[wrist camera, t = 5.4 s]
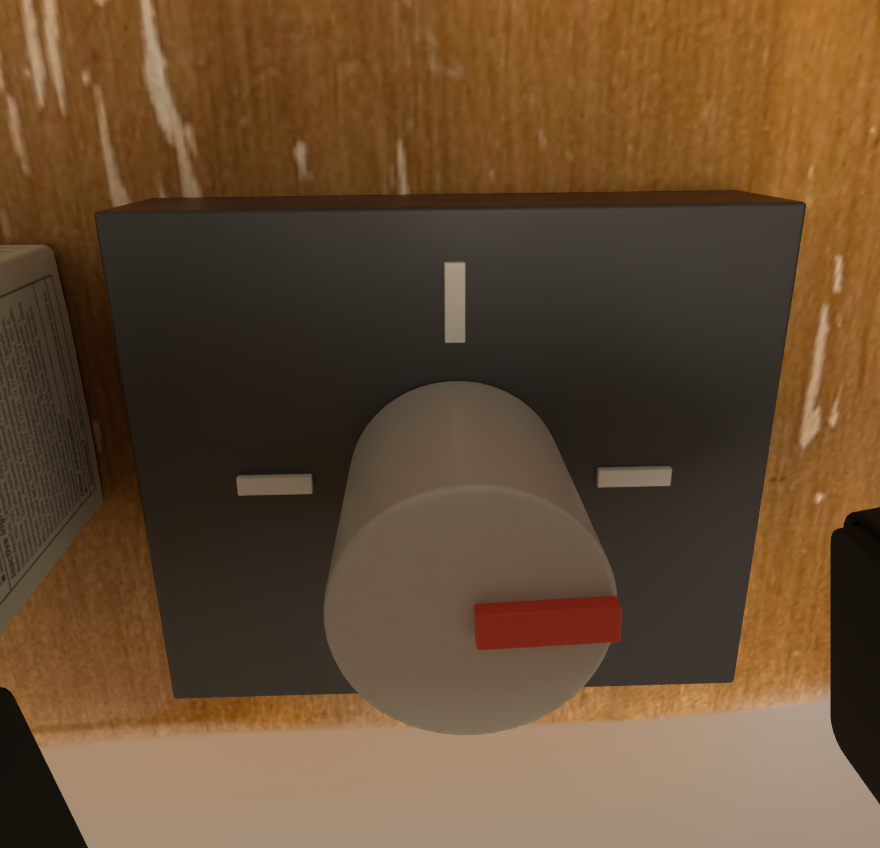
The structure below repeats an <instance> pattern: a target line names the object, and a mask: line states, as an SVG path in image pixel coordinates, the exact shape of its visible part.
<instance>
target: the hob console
mask: <svg viewBox="0 0 880 848" xmlns="http://www.w3.org/2000/svg"><path fill="white" fill-rule="evenodd" d="M805 209H806V204H805V203H804V202H801V201H795V200H789V199H783V198H777V197H772V196H766V195H760V194H754V193H749V192H743V191H737V190H728V191H653V192H579V193H504V194H430V195H355V196H281V197H206V198H152V199H148V200H144V201H140V202H135V203H131V204H127V205H123V206H119V207H115V208H111V209H106V210H102V211H98V212H96V213H95V216H94V217H95V223H96V229H97V235H98V241H99V247H100V253H101V259H102V265H103V271H104V277H105V283H106V289H107V295H108V301H109V307H110V314H111V320H112V326H113V332H114V338H115V344H116V350H117V356H118V362H119V368H120V374H121V380H122V386H123V392H124V398H125V404H126V410H127V416H128V422H129V428H130V435H131V441H132V447H133V453H134V459H135V465H136V471H137V477H138V483H139V489H140V495H141V501H142V507H143V513H144V519H145V525H146V531H147V537H148V543H149V549H150V556H151V562H152V568H153V574H154V580H155V586H156V592H157V598H158V604H159V610H160V616H161V622H162V628H163V634H164V640H165V646H166V652H167V658H168V664H169V670H170V677H171V683H172V689H173V695H174V698H177V699H178V698H212V697H247V696H282V695H316V694H351V693H358V692H357V691H356V690H355V689H354V688H353V687H352V686H351V685H350V683H349V682H348V681H347V679H346V678H345V677H344V675H343V674H342V672H341V671H340V669H339V667H338V665H337V663H336V661H335V659H334V658H333V656H332V653H331V650H330V647H329V645H328V642H327V637H326V632H325V627H324V613H323V607H324V598H325V590H326V585H327V580H328V575H329V570H330V565H331V560H332V555H333V550H334V545H335V540H336V535H337V530H338V525H339V520H340V515H341V510H342V505H343V500H344V495H345V490H346V485H347V480H348V475H349V469H350V464H351V460H352V457H353V453H354V450H355V447H356V445H357V442H358V440H359V438H360V436H361V435H362V433H363V431H364V430H365V428H366V426H367V425H368V424H369V423H370V421H371V420H372V419H373V418H374V416H375V415H377V414H378V413H379V412H380V411H381V410H382V409H383V408H384V407H385V406H386V405H388V404H389V403H391V402H392V401H393V400H395V399H396V398H398V397H400V396H402V395H403V394H405V393H407V392H409V391H412V390H414V389H417V388H419V387H422V386H426V385H430V384H434V383H439V382H447V381H468V382H476V383H482V384H485V385H489V386H493V387H496V388H498V389H500V390H503V391H505V392H508V393H509V394H511V395H513V396H515V397H516V398H518V399H520V400H521V401H522V402H524V403H525V404H526V405H527V406H529V407H530V408H531V409H532V410H533V411H534V412H535V413H536V414H537V415H538V416H539V417H540V419H541V420H542V421H543V423H544V424H545V425H546V427H547V428H548V430H549V432H550V434H551V435H552V437H553V439H554V441H555V444H556V446H557V448H558V450H559V452H560V455H561V457H562V459H563V461H564V463H565V466H566V468H567V470H568V472H569V474H570V477H571V479H572V481H573V483H574V486H575V488H576V490H577V492H578V494H579V497H580V499H581V501H582V503H583V505H584V508H585V510H586V512H587V514H588V516H589V519H590V521H591V523H592V525H593V528H594V530H595V532H596V534H597V536H598V539H599V541H600V543H601V545H602V547H603V550H604V552H605V554H606V556H607V558H608V561H609V564H610V566H611V569H612V572H613V575H614V579H615V584H616V590H617V598H618V601H619V603H620V605H621V607H622V617H621V639H620V642H614V643H610V645H609V647H608V650H607V652H606V654H605V657H604V659H603V660H602V662H601V664H600V665H599V667H598V668H597V670H596V672H595V673H594V674H593V675H592V677H591V678H590V679H589V680H588V682H587V683H586V684H585V685H584V686H583V687H594V686H629V685H663V684H698V683H731V682H733V680H734V674H735V668H736V661H737V654H738V648H739V641H740V635H741V628H742V622H743V615H744V609H745V602H746V596H747V589H748V582H749V576H750V569H751V563H752V556H753V550H754V543H755V537H756V530H757V524H758V517H759V510H760V504H761V497H762V491H763V484H764V478H765V471H766V465H767V458H768V452H769V445H770V438H771V432H772V425H773V419H774V412H775V406H776V399H777V393H778V386H779V379H780V373H781V366H782V360H783V353H784V347H785V340H786V334H787V327H788V321H789V314H790V307H791V301H792V294H793V288H794V281H795V275H796V268H797V262H798V255H799V249H800V242H801V235H802V229H803V222H804V216H805Z"/></svg>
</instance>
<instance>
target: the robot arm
mask: <svg viewBox="0 0 880 848" xmlns="http://www.w3.org/2000/svg"><path fill="white" fill-rule="evenodd" d="M831 724H832V728H833V732H834V735H835V738H836V740H837V742H838V744H839V747H840V748H841V750H842V752H843V753H844V755H845V756H846V757H847V759H848V760H849V762H850V763H851V765H852V766H853V767H854V769H855V770H856V772H857V773H858V774H859V776H860V777H861V779H862V780H863V781H864V783H865V784H866V786H867V787H868V788H869V790H870V791H871V793H872V794H873V795H874V797H875V798H876V800H877V801H878V802H879V804H880V507H879V508H873V509H868V510H863V511H857V512H852V513H850V514H849V515H848V516H847V517H846V519H845V522H844V527H843V528H839V529H836V530H835V531H833V534H832V536H831ZM0 848H88V847H87V845H86V843H85V841H84V839H83V837H82V835H81V833H80V831H79V828H78V826H77V825H76V822H75V820H74V818H73V817H72V814H71V812H70V810H69V808H68V806H67V804H66V802H65V800H64V798H63V796H62V794H61V792H60V790H59V788H58V786H57V784H56V782H55V780H54V778H53V775H52V773H51V771H50V769H49V767H48V765H47V763H46V761H45V759H44V757H43V755H42V753H41V751H40V749H39V747H38V745H37V743H36V741H35V739H34V737H33V735H32V732H31V730H30V728H29V726H28V724H27V722H26V720H25V718H24V716H23V714H22V712H21V710H20V708H19V706H18V704H17V702H16V700H15V698H14V696H13V695H12V693H11V692H10V691H9V690H8V689H6V688H2V687H0Z"/></svg>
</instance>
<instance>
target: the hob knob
mask: <svg viewBox="0 0 880 848" xmlns="http://www.w3.org/2000/svg"><path fill="white" fill-rule="evenodd" d="M323 613H324V627H325V632H326V637H327V642H328V645H329V647H330V650H331V653H332V656H333V658H334V659H335V661H336V663H337V665H338V667H339V669H340V671H341V672H342V674H343V675H344V677H345V678H346V679H347V681H348V682H349V683H350V685H351V686H352V687H353V688H354V689H355V690H356V691H357V692H358V693H359V694H360V695H361V696H362V697H363V698H364V699H365V700H366V701H368V702H369V703H370V704H371V705H373V706H374V707H375V708H377V709H378V710H380V711H382V712H383V713H385V714H387V715H388V716H390V717H392V718H394V719H396V720H398V721H401V722H403V723H405V724H407V725H411V726H414V727H417V728H420V729H423V730H428V731H433V732H437V733H444V734H455V735H477V734H486V733H495V732H499V731H504V730H508V729H512V728H515V727H518V726H521V725H524V724H527V723H530V722H532V721H534V720H536V719H539V718H541V717H543V716H545V715H547V714H548V713H550V712H552V711H553V710H555V709H557V708H558V707H560V706H561V705H563V704H564V703H565V702H566V701H568V700H569V699H570V698H572V697H573V696H574V695H575V694H576V693H577V692H578V691H579V690H580V689H581V688H582V687H583V686H584V685H585V684H586V683H587V682H588V680H589V679H590V678H591V677H592V675H593V674H594V673H595V672H596V670H597V668H598V667H599V665H600V664H601V662H602V660H603V659H604V657H605V654H606V652H607V650H608V647H609V645H610V643H614V642H620V639H621V617H622V607H621V605H620V603H619V601H618V598H617V590H616V584H615V579H614V575H613V572H612V569H611V566H610V564H609V561H608V558H607V556H606V554H605V552H604V550H603V547H602V545H601V543H600V541H599V539H598V536H597V534H596V532H595V530H594V528H593V525H592V523H591V521H590V519H589V516H588V514H587V512H586V510H585V508H584V505H583V503H582V501H581V499H580V497H579V494H578V492H577V490H576V488H575V486H574V483H573V481H572V479H571V477H570V474H569V472H568V470H567V468H566V466H565V463H564V461H563V459H562V457H561V455H560V452H559V450H558V448H557V446H556V444H555V441H554V439H553V437H552V435H551V434H550V432H549V430H548V428H547V427H546V425H545V424H544V423H543V421H542V420H541V419H540V417H539V416H538V415H537V414H536V413H535V412H534V411H533V410H532V409H531V408H530V407H529V406H527V405H526V404H525V403H524V402H522V401H521V400H520V399H518V398H516V397H515V396H513V395H511V394H509V393H508V392H505V391H503V390H500V389H498V388H496V387H493V386H489V385H485V384H482V383H476V382H468V381H447V382H439V383H434V384H430V385H426V386H422V387H419V388H417V389H414V390H412V391H409V392H407V393H405V394H403V395H402V396H400V397H398V398H396V399H395V400H393V401H392V402H391V403H389V404H388V405H386V406H385V407H384V408H383V409H382V410H381V411H380V412H379V413H378V414H377V415H375V416H374V418H373V419H372V420H371V421H370V423H369V424H368V425H367V426H366V428H365V430H364V431H363V433H362V435H361V436H360V438H359V440H358V442H357V445H356V447H355V450H354V453H353V457H352V460H351V464H350V469H349V475H348V480H347V485H346V490H345V495H344V500H343V505H342V510H341V515H340V520H339V525H338V530H337V535H336V540H335V545H334V550H333V555H332V560H331V565H330V570H329V575H328V580H327V585H326V590H325V598H324V607H323Z"/></svg>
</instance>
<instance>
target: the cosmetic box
mask: <svg viewBox="0 0 880 848" xmlns="http://www.w3.org/2000/svg"><path fill="white" fill-rule="evenodd" d="M102 502H103V494H102V488H101V482H100V476H99V471H98V467H97V459H96V453H95V447H94V442H93V437H92V432H91V427H90V421H89V415H88V411H87V406H86V402H85V397H84V391H83V386H82V381H81V376H80V371H79V366H78V361H77V356H76V351H75V345H74V341H73V336H72V331H71V326H70V321H69V316H68V311H67V307H66V303H65V299H64V295H63V291H62V286H61V282H60V278H59V273H58V269H57V265H56V260H55V257H54V253H53V251H52V249H51V248H50V247H49V246H46V245H0V635H1V633H2V632H3V631H4V630H5V628H6V627H7V626H8V625H9V623H10V622H11V621H12V619H13V618H14V617H15V616H16V614H17V613H18V612H19V611H20V609H21V608H22V607H23V605H24V604H25V603H26V601H27V600H28V599H29V597H30V596H31V595H32V594H33V592H34V591H35V590H36V589H37V587H38V586H39V585H40V583H41V582H42V581H43V580H44V578H45V577H46V576H47V574H48V573H49V572H50V571H51V569H52V568H53V567H54V565H55V564H56V563H57V561H58V560H59V559H60V558H61V556H62V555H63V554H64V552H65V551H66V550H67V549H68V547H69V546H70V545H71V543H72V542H73V541H74V539H75V538H76V537H77V536H78V534H79V533H80V532H81V530H82V529H83V528H84V526H85V525H86V524H87V523H88V521H89V520H90V519H91V517H92V516H93V515H94V513H95V512H96V511H97V509H98V508H99V507H100V505H101V504H102Z"/></svg>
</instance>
